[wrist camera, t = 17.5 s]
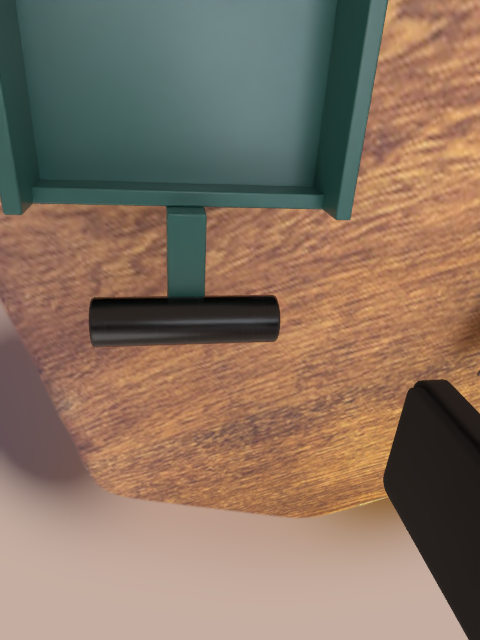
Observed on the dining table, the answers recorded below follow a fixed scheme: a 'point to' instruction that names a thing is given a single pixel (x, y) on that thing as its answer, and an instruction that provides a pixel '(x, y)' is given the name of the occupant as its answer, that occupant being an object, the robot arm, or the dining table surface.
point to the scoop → (185, 130)
